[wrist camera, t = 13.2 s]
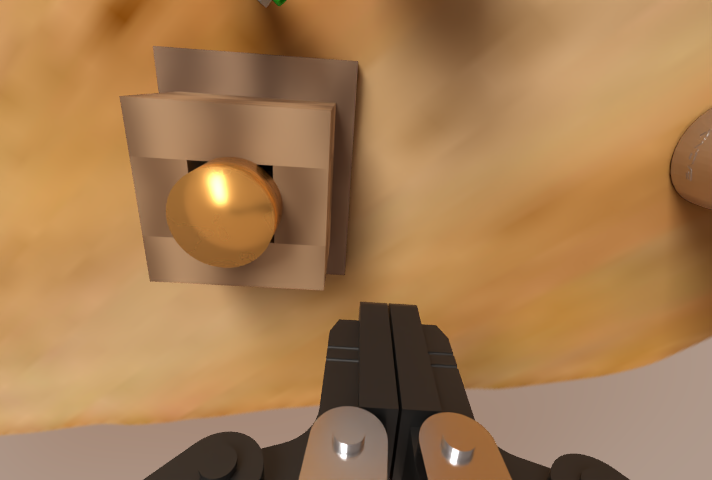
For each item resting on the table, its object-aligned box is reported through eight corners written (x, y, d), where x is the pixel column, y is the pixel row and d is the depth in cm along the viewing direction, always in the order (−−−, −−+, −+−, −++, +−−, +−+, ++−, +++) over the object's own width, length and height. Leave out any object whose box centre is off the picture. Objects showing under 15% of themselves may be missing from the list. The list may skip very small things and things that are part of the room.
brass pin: (297, 142, 30) (272, 171, 20) (296, 214, 32) (274, 270, 23) (219, 136, 29) (159, 163, 20) (224, 210, 32) (172, 264, 22)
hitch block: (357, 62, 30) (360, 55, 21) (345, 267, 37) (342, 326, 28) (162, 47, 29) (81, 34, 20) (187, 258, 36) (134, 316, 27)
